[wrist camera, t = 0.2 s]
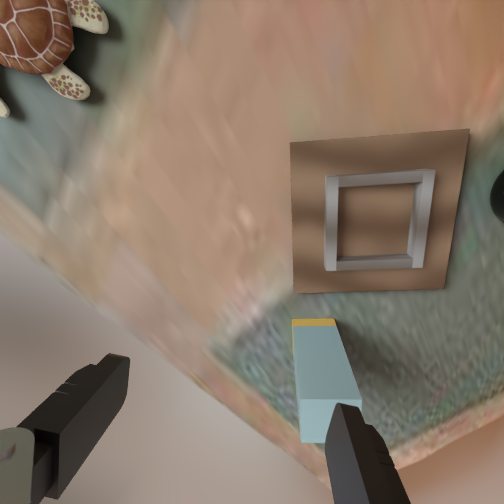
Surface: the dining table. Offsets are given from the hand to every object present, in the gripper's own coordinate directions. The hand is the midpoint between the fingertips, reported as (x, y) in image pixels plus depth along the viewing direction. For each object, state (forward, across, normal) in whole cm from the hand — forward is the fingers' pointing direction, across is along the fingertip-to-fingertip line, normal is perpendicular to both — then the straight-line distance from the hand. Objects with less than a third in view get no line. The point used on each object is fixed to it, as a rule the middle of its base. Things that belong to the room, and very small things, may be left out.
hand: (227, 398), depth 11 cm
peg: (+24, -8, +9) cm, 27 cm away
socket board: (+22, -10, -6) cm, 25 cm away
